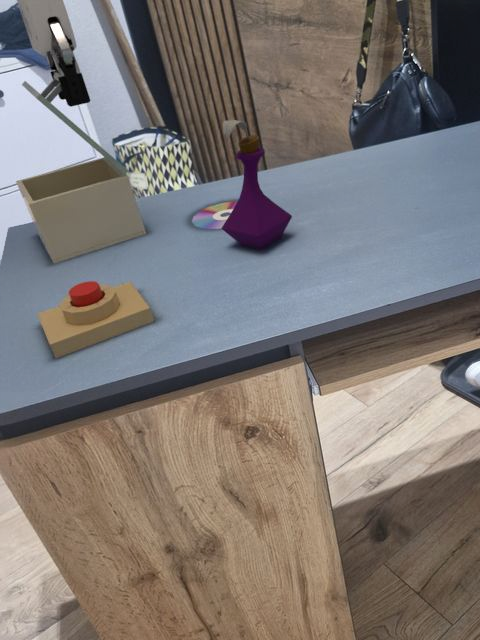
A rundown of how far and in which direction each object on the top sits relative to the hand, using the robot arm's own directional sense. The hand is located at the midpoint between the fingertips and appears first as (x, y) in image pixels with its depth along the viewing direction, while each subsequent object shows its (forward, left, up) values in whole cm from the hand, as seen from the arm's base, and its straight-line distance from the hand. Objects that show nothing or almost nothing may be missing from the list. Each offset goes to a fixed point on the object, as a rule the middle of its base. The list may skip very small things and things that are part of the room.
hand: (74, 99), depth 95 cm
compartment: (-4, 0, -21) cm, 21 cm away
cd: (+16, -10, -21) cm, 28 cm away
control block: (-10, -31, -21) cm, 38 cm away
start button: (-10, -31, -17) cm, 36 cm away
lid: (-2, 0, -4) cm, 4 cm away
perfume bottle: (+16, -24, -21) cm, 35 cm away
